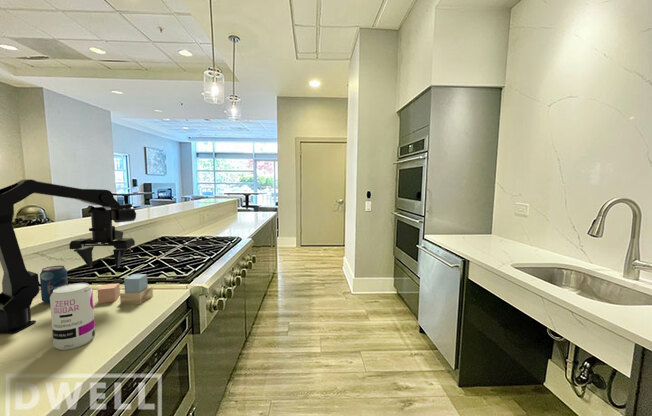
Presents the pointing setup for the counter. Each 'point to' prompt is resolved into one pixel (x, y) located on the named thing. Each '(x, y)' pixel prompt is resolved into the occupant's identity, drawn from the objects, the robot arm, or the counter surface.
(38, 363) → the counter surface
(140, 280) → the slate cube
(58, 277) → the soda can
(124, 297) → the oak block
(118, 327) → the counter surface
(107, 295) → the terracotta cube
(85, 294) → the supplement can
